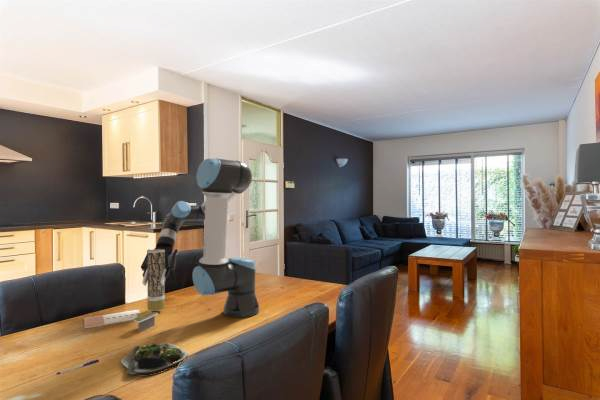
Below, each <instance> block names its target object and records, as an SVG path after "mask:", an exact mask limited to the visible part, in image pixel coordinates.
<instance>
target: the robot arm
mask: <svg viewBox="0 0 600 400" xmlns="http://www.w3.org/2000/svg"><path fill="white" fill-rule="evenodd" d="M252 180H253V175H252V171H251V169H250V167H249V166H248V165H247V164H246V163H244V162H242V161H239V160H230V159H224V158H223V159H222V158H205V159H204V160H203V161H201V163H200V164H199V166H198V169H197V171H196V182H197V183H196V184H197V186H198V187H199V188H201V189H202V190H201V192H202V194H203V195H204V196H205V200H204V201H203V202H202V203H201V204H198V205H197V204H196V205H195V204H194V205H193V204H191V205H190V204H189V202H186V201H184V200H178V201H177V202H176V203H175V204H174V205H173V206H172V208H171V210H170V212H169V213H167V214H166V216H165V218H164V221H163V225H162V227H161V230H160V233H159V236H158V239H157V242H156V243H155V244H156V245H155V248H154V249H153V250H155V249H163V250H165V269H164V271H163V274H162V278H161V281H160V283H161V285H164V282H165V283H166V278H167V279H168V278H169V276H170V272H171V271H173V272H175V270H176V264H177V259H178V255H179V250H178V249H174V246H175V244H176V241H177V237H178V233H179V229H180V228H181V226H182V225H183V223H184V222H193V221H194V222H197V221H199V222H200V221H204V233H203V237H204V238H203V256H202V257H201V258H200V259H199V260H198V265H197V266H196V267H194V268H193V271H192V274H191V275H192V282H193V286H194V287H195V290H196V291H197V293H198V294H199V295H201V296H213V295H216V294H220V293H224V292H225V293H226V292H227V295H226V300H225V303H224V306H223V314H224V315H225V316H226V317H229V318H241V319H242V318H247V317H248V318H249V317H253V316H256V315H257V314H259V312H260V305H259V302H258V298H257V294H256V271H257V270H256V262H255V261H254V260H253V259H251V258H244V257H229V258H227V257H226V251H227V250H226V244H227V229H228V228H227V226H228V203H229V201H231V200H233V198H235V196H237V195H238V194H239V195H241V194H243V193H244V192H245V191H246V190H248V188H249V187H251V186H250V185H251V183H252ZM148 250H149V249H147V250H146V254H145V257H144V259H143V261H142V263H141V265H140V268H141V271H142V272H143V273H142V278H143V279H142V281H141V282H142V285H143V286H145V287H146V286H147V285H148ZM171 255H172V257H171V263H170V257H169V256H171Z"/></svg>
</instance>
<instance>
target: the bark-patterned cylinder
mask: <svg viewBox="0 0 600 400" xmlns="http://www.w3.org/2000/svg"><path fill="white" fill-rule="evenodd" d="M154 249H155V248H154ZM154 249H147V250H148V281H147V310H148V311H151V310H152V311H159V310H160V311H161V310H162V309H164V308H165V307H166V306H165V304H166V303H165V301H166V299H165V289H166V286H165V283H166V281H165V282H164V285H161V283H160V281H161V278H162V274H163V271H164V269H166V262H165V250H163V249H155V250H154Z"/></svg>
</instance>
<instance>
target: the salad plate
mask: <svg viewBox="0 0 600 400" xmlns="http://www.w3.org/2000/svg"><path fill="white" fill-rule="evenodd" d="M186 357H187V358H188V351H186V350H185V349H182V348H181V347H179V346H177V345H175V344H173V343H159V344H157V343H151V344H148V345H145V344H143V345H142V346H141V347H140V346H139V345H136V346H134V347H133V349H132V352H130V353H128V354H126V355H125V356H123V358H121V364H122V365H123V367H125V368H126V372H127V374H128V375H134V376H137V375H149V376H151V375H150V374H154V373H158V372H161V371H164V370H166V369H169V368H172V367H174V368H176V367H178V366H177V365H178V364H179V363H180V362H182V361H183V360H184V359H185V358H186ZM187 358H186V359H187ZM175 361H176V362H175ZM173 362H175V363H173ZM172 363H173V364H172ZM175 366H176V367H175ZM172 369H173V368H172ZM169 370H170V369H169ZM166 371H167V370H166ZM164 372H165V371H164ZM161 373H162V372H161ZM158 374H159V373H158ZM154 375H155V374H154Z"/></svg>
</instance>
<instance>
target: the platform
mask: <svg viewBox="0 0 600 400" xmlns="http://www.w3.org/2000/svg"><path fill="white" fill-rule="evenodd" d="M157 315H159V312H153V310H149V309H147V310H145V311H142V312H140V314H137V318H135V319H134V320H133V322H135V323H137V325H138V327H137V330H138V331H137V332H138V333H139V334H140V333H143V332H144V331H146V330H147V329H150V328H151V327H154V326H155V325H156V324H155V323H156V319H155V318H156V316H157Z"/></svg>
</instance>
